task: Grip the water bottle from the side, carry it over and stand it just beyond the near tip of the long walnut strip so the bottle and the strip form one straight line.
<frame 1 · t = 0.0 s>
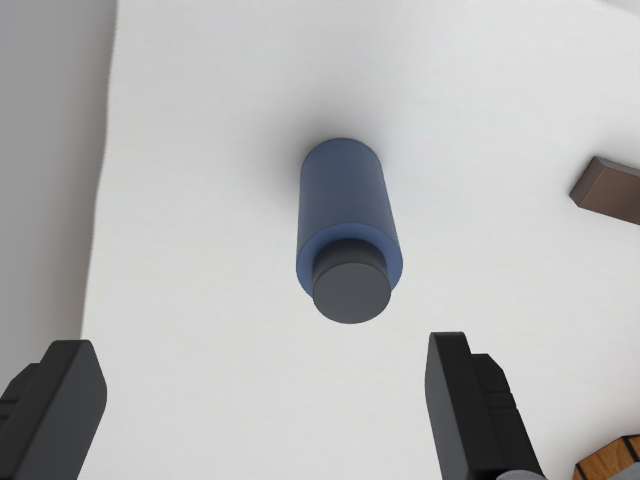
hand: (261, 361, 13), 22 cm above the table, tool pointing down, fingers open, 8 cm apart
water bottle: (341, 176, 35), on the table
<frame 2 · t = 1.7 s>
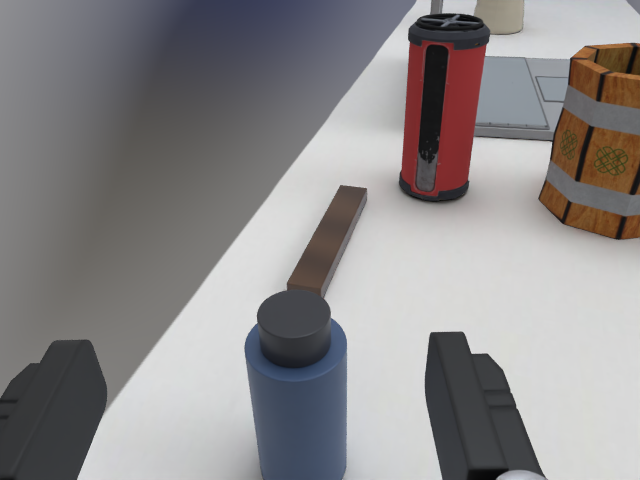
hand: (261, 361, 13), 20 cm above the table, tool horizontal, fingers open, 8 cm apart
laptop: (509, 96, 87), on the table
mug: (636, 209, 57), on the table
water bottle: (303, 462, 33), on the table
speaker: (433, 188, 62), on the table
walnut strip: (332, 242, 53), on the table
lamp: (496, 29, 124), on the table
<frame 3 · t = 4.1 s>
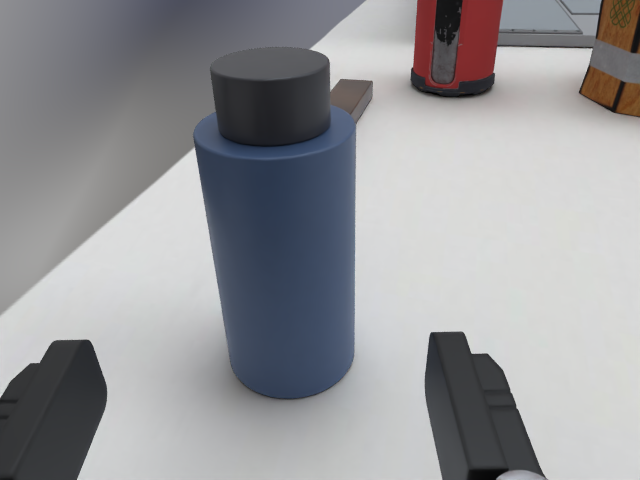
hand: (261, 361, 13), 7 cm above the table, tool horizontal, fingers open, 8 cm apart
laptop: (529, 17, 77), on the table
water bottle: (292, 350, 23), on the table
speaker: (450, 87, 52), on the table
walnut strip: (331, 132, 43), on the table
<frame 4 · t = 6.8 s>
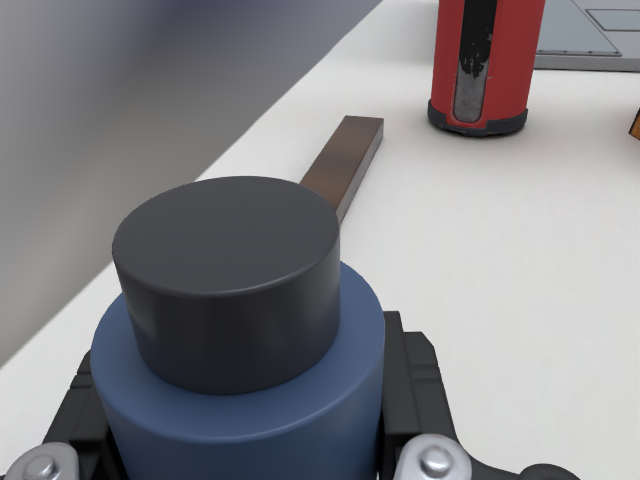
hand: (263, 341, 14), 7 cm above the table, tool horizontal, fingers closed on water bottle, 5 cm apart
laptop: (555, 32, 69), on the table
speaker: (474, 123, 45), on the table
walnut strip: (334, 187, 35), on the table
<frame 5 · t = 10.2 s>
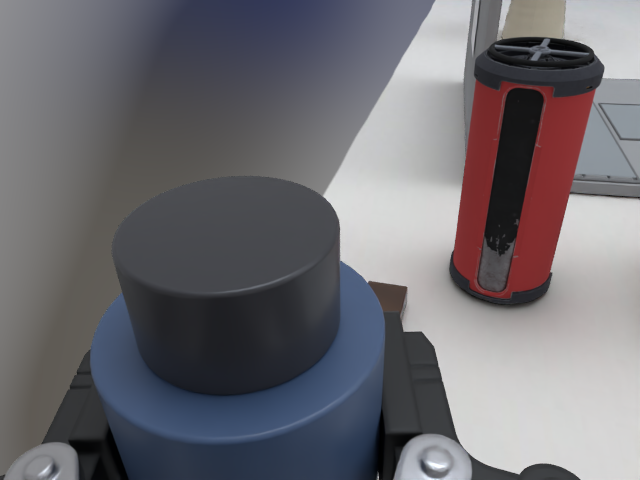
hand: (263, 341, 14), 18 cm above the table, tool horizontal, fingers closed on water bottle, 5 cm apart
laptop: (569, 130, 69), on the table
speaker: (497, 279, 44), on the table
walnut strip: (362, 385, 35), on the table
lamp: (531, 40, 106), on the table
when the fingers open (7 cm above the table, at t = 13.8 s): water bottle stays where it is, on the table.
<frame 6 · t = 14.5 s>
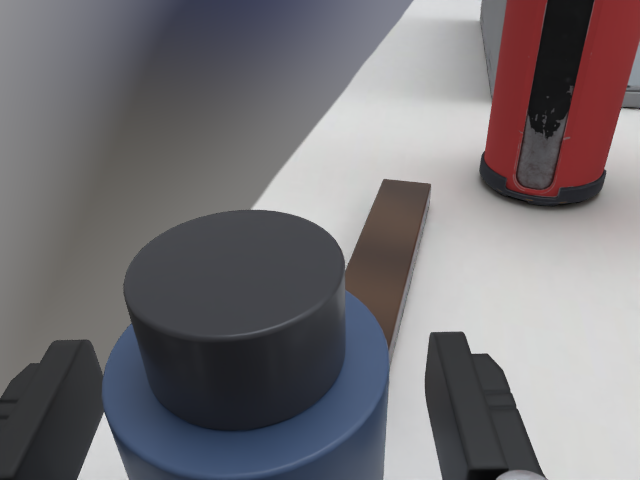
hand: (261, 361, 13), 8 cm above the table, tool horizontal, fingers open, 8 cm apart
laptop: (602, 57, 62), on the table
speaker: (537, 183, 37), on the table
walnut strip: (378, 286, 28), on the table
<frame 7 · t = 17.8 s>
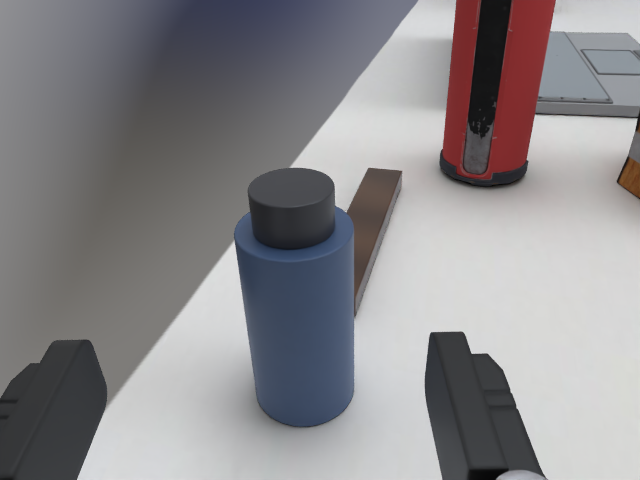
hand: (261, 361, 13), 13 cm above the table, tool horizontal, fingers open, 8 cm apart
laptop: (553, 72, 75), on the table
water bottle: (305, 386, 29), on the table
speaker: (481, 171, 50), on the table
walnut strip: (362, 237, 41), on the table
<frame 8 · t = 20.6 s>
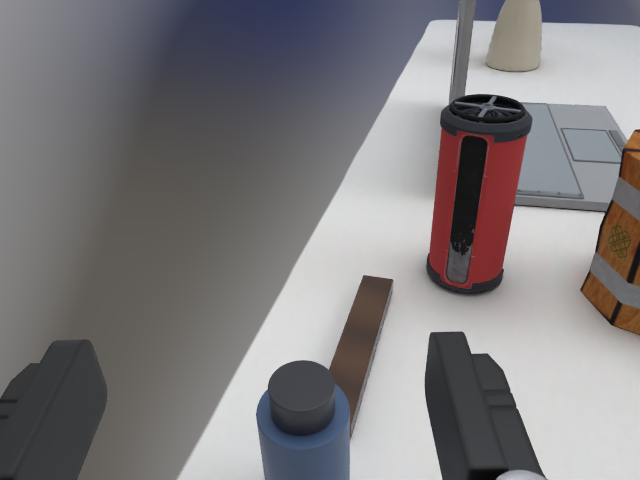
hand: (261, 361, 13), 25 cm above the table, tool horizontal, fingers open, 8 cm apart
laptop: (534, 151, 82), on the table
speaker: (463, 274, 57), on the table
walnut strip: (358, 350, 48), on the table
lamp: (511, 65, 120), on the table
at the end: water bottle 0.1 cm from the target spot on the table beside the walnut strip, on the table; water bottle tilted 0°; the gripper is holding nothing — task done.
